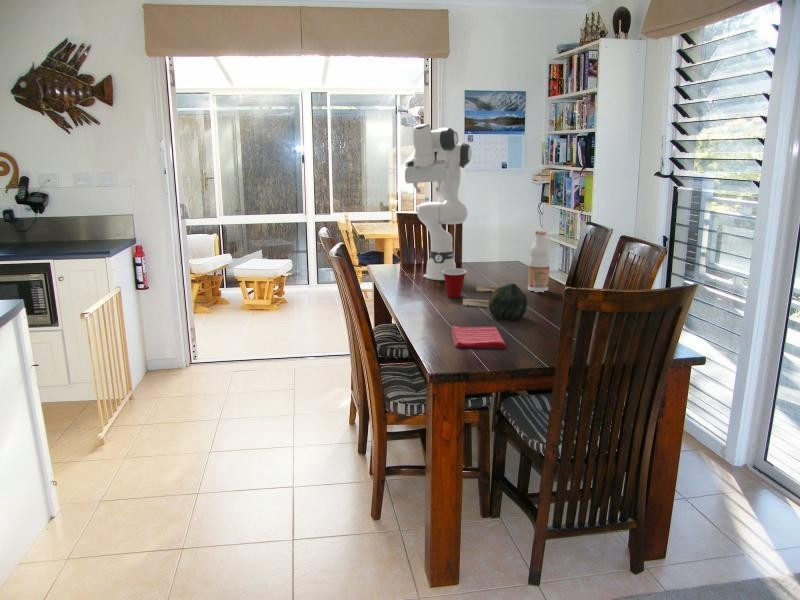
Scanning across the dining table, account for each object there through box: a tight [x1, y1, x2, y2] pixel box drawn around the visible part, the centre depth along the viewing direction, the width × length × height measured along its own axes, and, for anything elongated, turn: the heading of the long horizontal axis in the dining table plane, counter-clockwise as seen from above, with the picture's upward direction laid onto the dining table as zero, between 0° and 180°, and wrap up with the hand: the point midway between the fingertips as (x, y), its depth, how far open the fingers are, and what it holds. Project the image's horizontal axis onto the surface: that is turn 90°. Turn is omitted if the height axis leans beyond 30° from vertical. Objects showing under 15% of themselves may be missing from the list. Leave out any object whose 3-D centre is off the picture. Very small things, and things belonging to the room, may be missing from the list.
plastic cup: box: [442, 267, 467, 298], centre depth 289 cm, size 11×11×12 cm
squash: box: [488, 283, 529, 321], centre depth 251 cm, size 14×15×15 cm
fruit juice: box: [527, 230, 551, 293], centre depth 299 cm, size 9×9×28 cm
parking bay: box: [462, 284, 501, 308], centre depth 285 cm, size 31×18×2 cm, turn 162°
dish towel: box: [451, 325, 507, 349], centre depth 225 cm, size 17×24×3 cm
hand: (428, 192), depth 293 cm, fingers open, 8 cm apart
